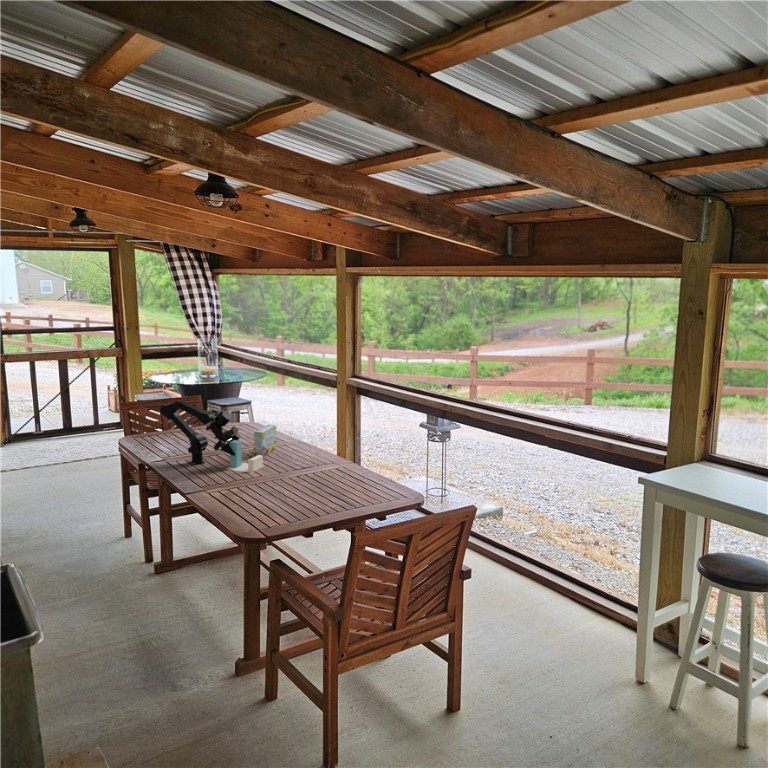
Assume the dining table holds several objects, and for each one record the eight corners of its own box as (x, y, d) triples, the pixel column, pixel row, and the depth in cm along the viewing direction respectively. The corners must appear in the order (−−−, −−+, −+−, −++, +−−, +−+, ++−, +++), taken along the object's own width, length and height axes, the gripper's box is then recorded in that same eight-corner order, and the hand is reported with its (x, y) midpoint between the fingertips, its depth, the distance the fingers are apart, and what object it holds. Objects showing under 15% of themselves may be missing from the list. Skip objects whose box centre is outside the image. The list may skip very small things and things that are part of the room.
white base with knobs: (225, 470, 330) (225, 457, 329) (239, 464, 344) (239, 451, 343) (251, 474, 326) (251, 460, 325) (264, 467, 339) (264, 454, 338)
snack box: (262, 458, 356) (262, 432, 354) (253, 457, 357) (253, 431, 355) (276, 449, 377) (276, 424, 375) (267, 448, 378) (267, 423, 376)
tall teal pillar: (230, 466, 335) (229, 442, 333) (235, 463, 339) (235, 440, 337) (236, 467, 333) (236, 443, 331) (241, 464, 338) (241, 441, 336)
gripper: (218, 425, 325) (237, 449, 324) (237, 419, 343) (255, 441, 341) (205, 439, 329) (224, 462, 327) (225, 431, 346) (243, 453, 345)
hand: (237, 454), depth 335 cm, fingers closed on tall teal pillar, 5 cm apart
